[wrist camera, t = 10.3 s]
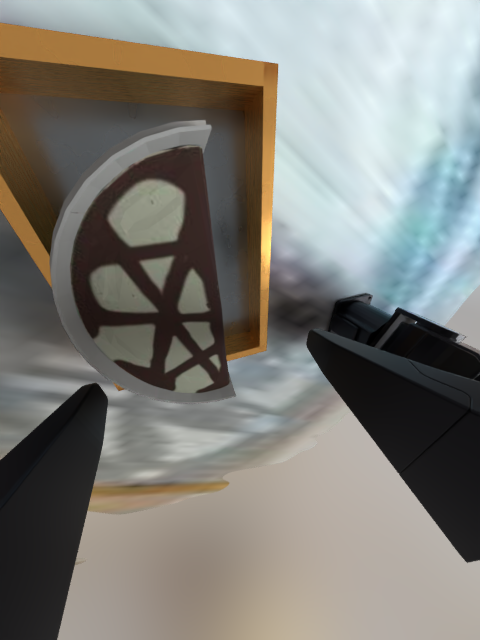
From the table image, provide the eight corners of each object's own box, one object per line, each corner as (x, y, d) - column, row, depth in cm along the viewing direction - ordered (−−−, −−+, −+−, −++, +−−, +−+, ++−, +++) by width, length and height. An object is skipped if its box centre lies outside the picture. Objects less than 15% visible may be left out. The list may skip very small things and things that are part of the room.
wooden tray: (254, 93, 13) (291, 43, 9) (254, 329, 24) (271, 353, 20) (-38, 64, 9) (-198, -46, 5) (124, 360, 21) (113, 398, 17)
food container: (77, 167, 11) (-183, 53, 3) (182, 167, 12) (208, 92, 4) (145, 332, 18) (124, 439, 9) (208, 319, 19) (236, 401, 11)
